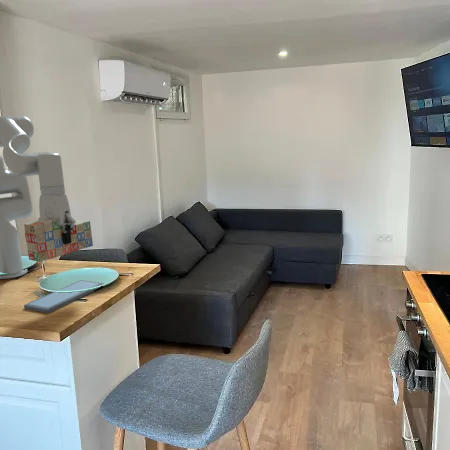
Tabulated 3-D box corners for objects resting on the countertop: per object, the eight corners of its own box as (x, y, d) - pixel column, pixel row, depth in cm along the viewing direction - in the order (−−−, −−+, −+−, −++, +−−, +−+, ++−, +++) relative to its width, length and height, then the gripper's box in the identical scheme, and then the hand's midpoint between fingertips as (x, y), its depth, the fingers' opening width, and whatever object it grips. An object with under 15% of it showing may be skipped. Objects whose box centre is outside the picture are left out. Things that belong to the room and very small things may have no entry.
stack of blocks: (82, 244, 165) (78, 211, 163) (93, 246, 162) (89, 212, 159) (28, 259, 148) (23, 223, 146) (39, 262, 145) (34, 224, 142)
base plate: (24, 308, 149) (23, 304, 149) (81, 282, 171) (80, 279, 171) (48, 313, 144) (47, 309, 144) (103, 286, 167) (103, 283, 166)
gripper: (25, 191, 150) (32, 243, 154) (63, 193, 143) (70, 247, 147) (43, 188, 157) (49, 238, 161) (80, 189, 149) (86, 242, 153)
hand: (59, 242), depth 154 cm, fingers closed on stack of blocks, 6 cm apart
